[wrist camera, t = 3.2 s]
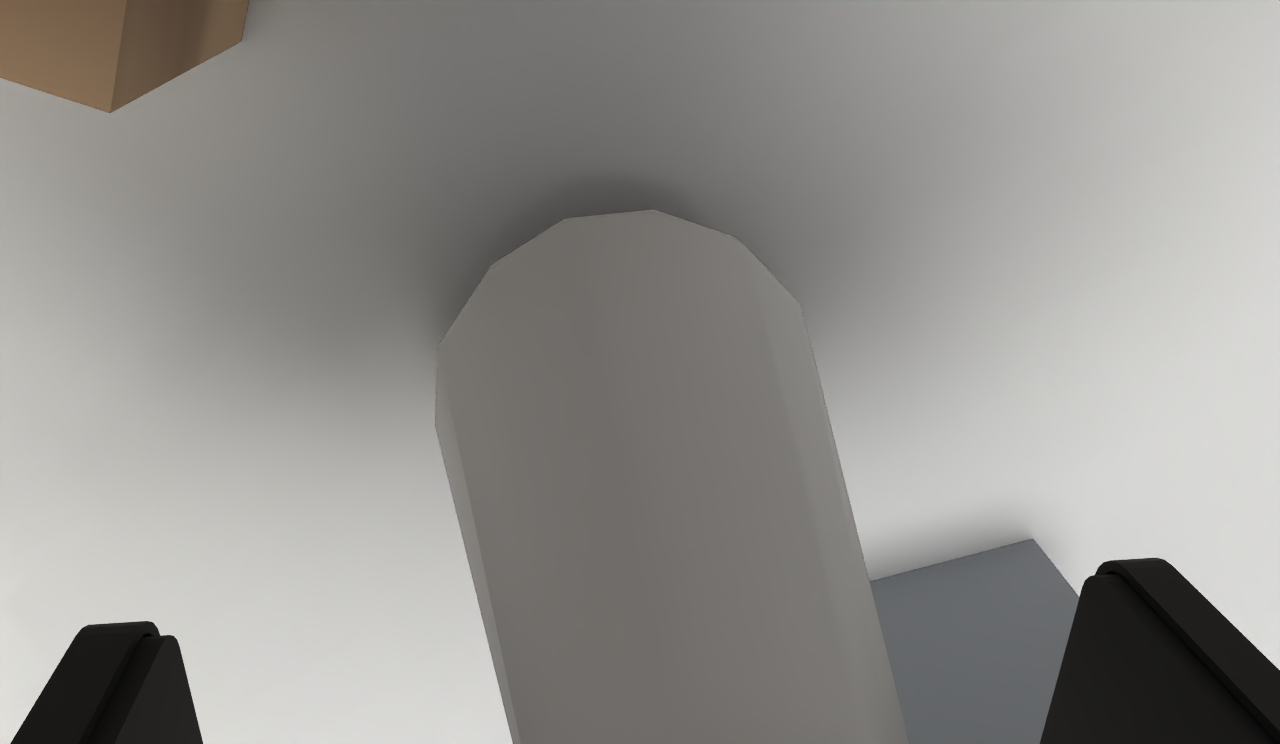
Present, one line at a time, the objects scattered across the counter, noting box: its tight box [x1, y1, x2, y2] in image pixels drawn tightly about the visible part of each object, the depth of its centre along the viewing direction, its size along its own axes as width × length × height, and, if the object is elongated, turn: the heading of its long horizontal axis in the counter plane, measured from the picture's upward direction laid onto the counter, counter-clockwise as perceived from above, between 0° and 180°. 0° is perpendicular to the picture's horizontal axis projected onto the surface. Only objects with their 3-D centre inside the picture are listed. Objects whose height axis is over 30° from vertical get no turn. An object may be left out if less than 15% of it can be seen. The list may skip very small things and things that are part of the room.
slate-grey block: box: [870, 539, 1080, 744], centre depth 19 cm, size 5×5×5 cm
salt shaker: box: [435, 210, 909, 744], centre depth 11 cm, size 6×6×13 cm
